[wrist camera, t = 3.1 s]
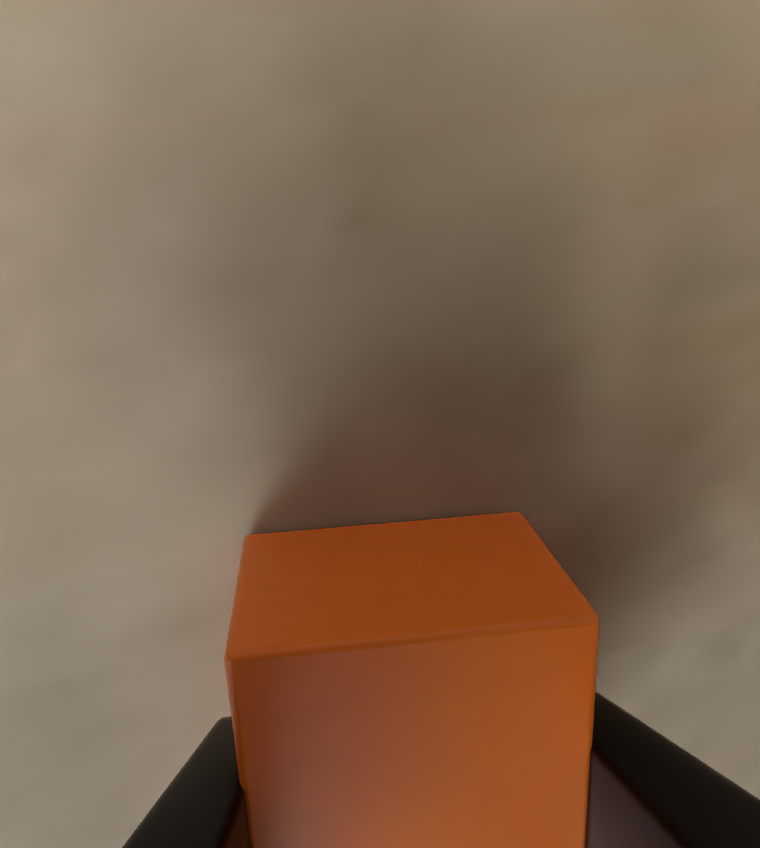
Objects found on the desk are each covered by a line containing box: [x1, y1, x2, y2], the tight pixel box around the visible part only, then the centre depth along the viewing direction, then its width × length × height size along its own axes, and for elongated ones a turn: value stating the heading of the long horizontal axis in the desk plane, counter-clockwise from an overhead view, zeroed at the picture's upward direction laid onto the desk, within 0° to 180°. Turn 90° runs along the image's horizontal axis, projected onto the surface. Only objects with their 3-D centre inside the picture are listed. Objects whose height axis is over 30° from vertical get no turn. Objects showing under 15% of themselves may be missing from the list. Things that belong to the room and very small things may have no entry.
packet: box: [224, 512, 599, 848], centre depth 8 cm, size 4×4×2 cm
